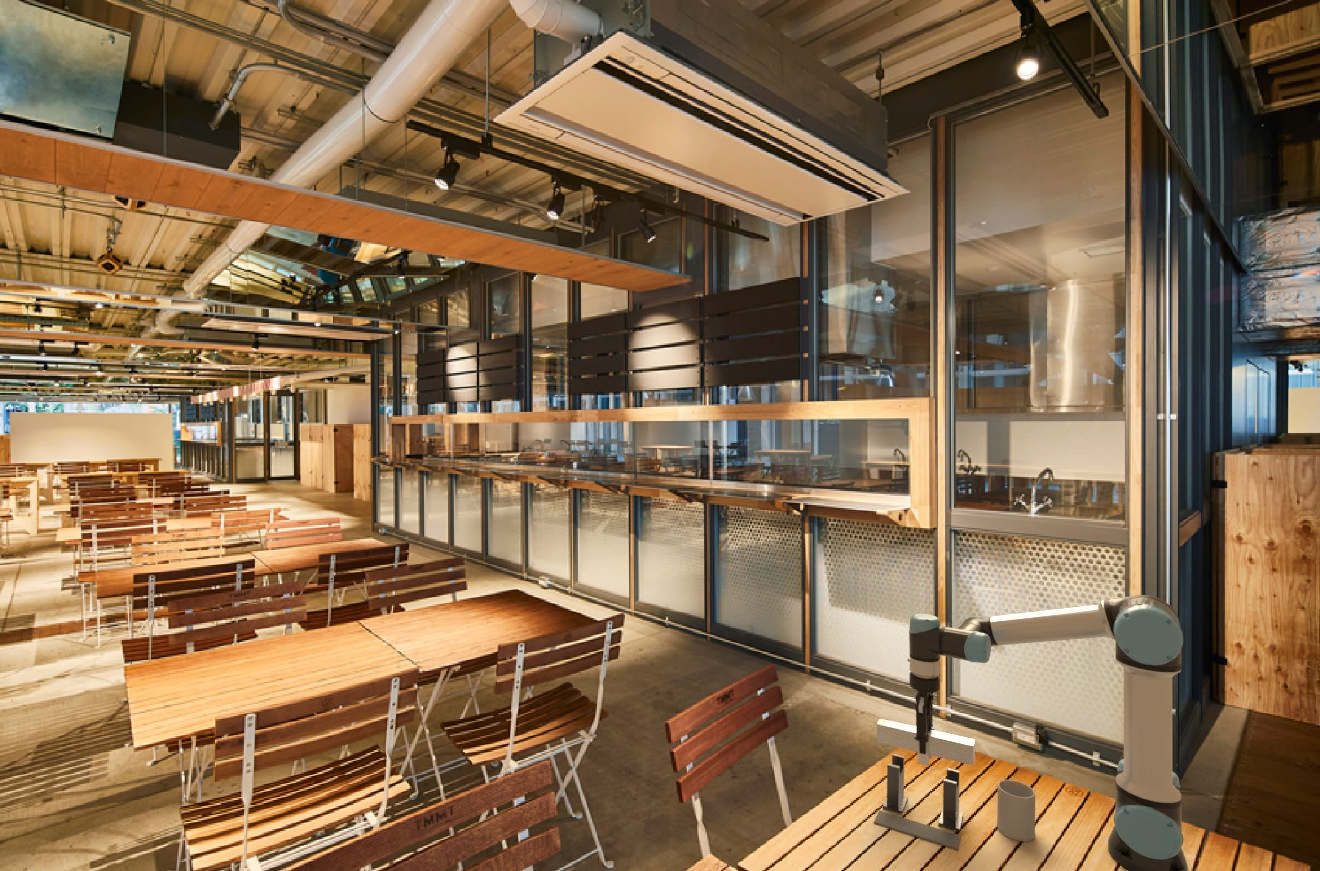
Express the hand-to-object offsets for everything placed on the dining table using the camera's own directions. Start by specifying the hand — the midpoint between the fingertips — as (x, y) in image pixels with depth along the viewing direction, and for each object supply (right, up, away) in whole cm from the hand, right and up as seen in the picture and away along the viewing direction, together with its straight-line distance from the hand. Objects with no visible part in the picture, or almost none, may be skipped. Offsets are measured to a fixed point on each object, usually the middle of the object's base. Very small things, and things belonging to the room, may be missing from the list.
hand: (924, 760), depth 170 cm
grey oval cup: (+21, -15, -6) cm, 26 cm away
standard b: (-6, -14, +4) cm, 16 cm away
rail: (0, +3, 0) cm, 3 cm away
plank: (-5, -14, -7) cm, 17 cm away
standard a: (+5, -14, -3) cm, 16 cm away
